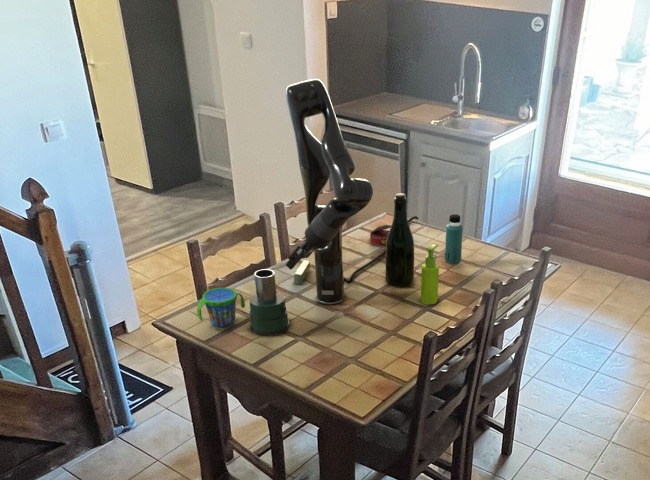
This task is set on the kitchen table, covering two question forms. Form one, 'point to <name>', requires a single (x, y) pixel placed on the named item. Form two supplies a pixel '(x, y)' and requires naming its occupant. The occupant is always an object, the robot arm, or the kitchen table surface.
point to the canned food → (379, 235)
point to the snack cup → (220, 306)
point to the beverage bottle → (453, 240)
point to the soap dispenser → (429, 278)
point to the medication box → (301, 272)
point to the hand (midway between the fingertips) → (296, 261)
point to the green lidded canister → (268, 316)
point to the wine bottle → (400, 247)
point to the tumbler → (265, 286)
